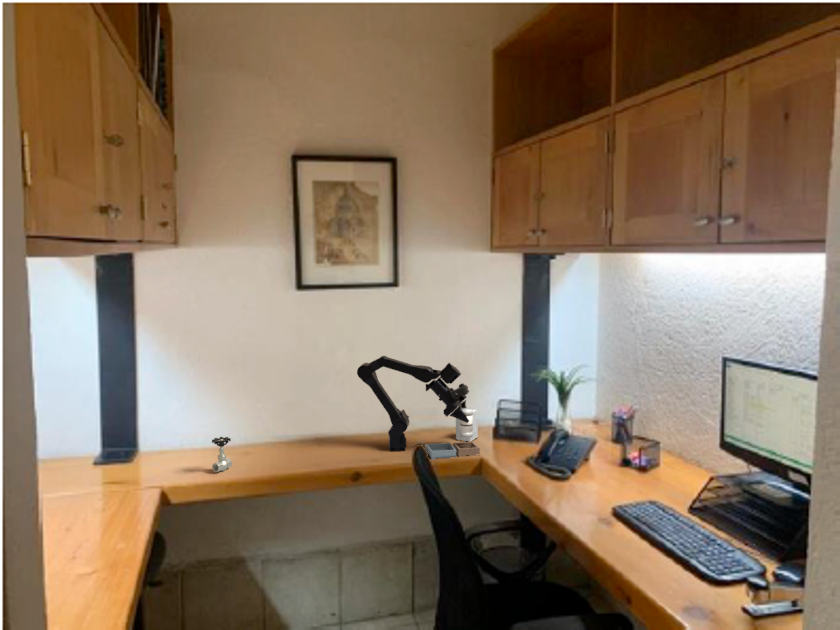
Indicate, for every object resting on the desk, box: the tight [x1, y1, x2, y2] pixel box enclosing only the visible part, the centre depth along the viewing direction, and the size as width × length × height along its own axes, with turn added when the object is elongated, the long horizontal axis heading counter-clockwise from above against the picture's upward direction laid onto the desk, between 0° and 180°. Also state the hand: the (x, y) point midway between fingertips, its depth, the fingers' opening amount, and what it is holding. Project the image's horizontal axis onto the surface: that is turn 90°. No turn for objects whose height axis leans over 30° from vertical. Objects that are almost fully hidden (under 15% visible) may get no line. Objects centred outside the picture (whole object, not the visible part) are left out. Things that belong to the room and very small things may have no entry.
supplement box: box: [455, 409, 479, 442], centre depth 276 cm, size 7×7×13 cm
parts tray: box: [425, 442, 457, 460], centre depth 255 cm, size 10×10×3 cm
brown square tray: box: [452, 441, 481, 457], centre depth 258 cm, size 9×9×3 cm
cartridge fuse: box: [460, 407, 474, 438], centre depth 257 cm, size 5×5×11 cm
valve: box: [211, 436, 233, 474], centre depth 237 cm, size 7×7×12 cm
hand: (469, 420), depth 256 cm, fingers closed on cartridge fuse, 5 cm apart
